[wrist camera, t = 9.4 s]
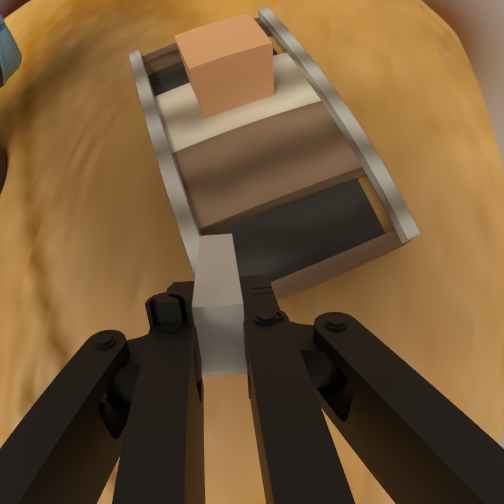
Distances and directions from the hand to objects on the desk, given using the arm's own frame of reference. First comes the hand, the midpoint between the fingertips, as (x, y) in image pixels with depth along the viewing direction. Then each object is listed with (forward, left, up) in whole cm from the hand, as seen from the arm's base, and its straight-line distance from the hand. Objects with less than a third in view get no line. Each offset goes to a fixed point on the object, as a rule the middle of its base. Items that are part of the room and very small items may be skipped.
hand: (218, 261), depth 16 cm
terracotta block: (-21, +7, -13) cm, 26 cm away
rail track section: (-16, +7, -16) cm, 23 cm away
